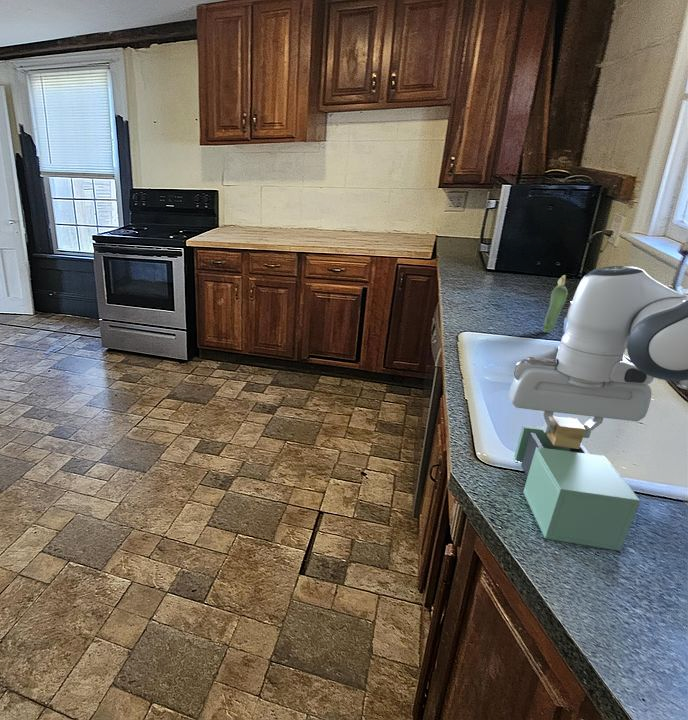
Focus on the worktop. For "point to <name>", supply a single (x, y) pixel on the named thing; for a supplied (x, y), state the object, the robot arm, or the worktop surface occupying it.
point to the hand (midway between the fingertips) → (565, 434)
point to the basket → (536, 445)
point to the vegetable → (555, 304)
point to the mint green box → (580, 498)
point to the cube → (567, 432)
